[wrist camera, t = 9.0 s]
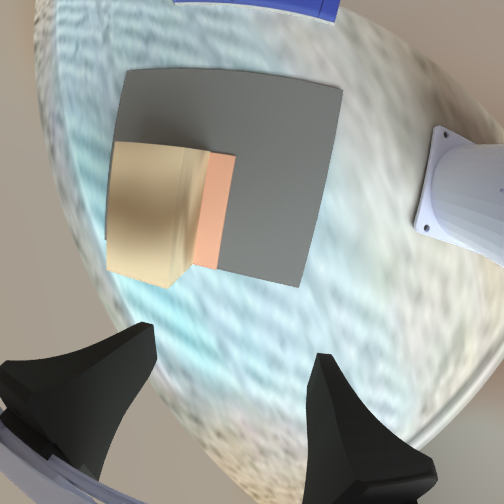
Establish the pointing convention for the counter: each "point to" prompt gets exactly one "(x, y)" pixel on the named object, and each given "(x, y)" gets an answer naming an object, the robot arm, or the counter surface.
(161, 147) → the maple block
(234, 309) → the counter surface
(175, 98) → the rubber mat
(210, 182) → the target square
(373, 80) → the counter surface
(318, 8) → the hard drive
